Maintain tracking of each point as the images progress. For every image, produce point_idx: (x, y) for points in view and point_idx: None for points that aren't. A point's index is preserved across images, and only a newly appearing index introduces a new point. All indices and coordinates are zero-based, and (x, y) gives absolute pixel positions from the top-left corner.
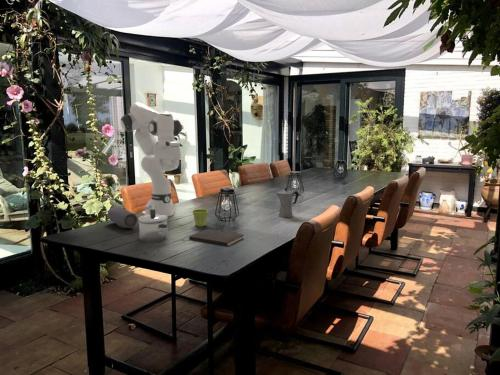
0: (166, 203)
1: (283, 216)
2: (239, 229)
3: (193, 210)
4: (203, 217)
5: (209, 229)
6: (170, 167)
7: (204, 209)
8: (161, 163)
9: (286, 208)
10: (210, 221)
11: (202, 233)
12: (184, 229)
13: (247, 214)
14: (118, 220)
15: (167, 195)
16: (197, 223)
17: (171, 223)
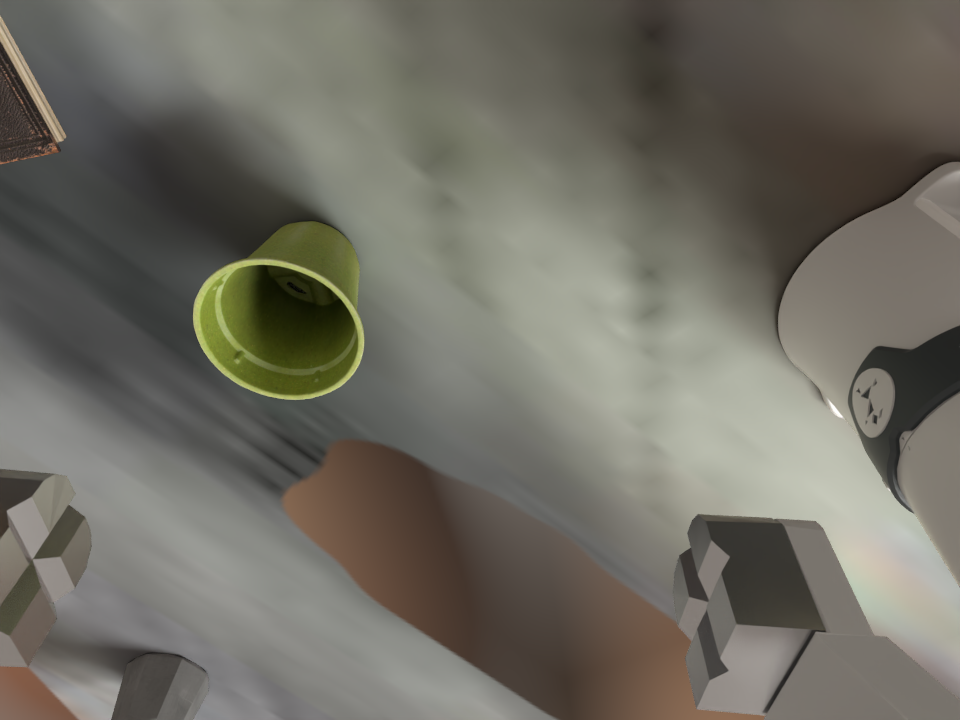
0: (859, 363)
1: (144, 657)
2: (17, 351)
3: (349, 310)
4: (229, 288)
5: (30, 155)
6: (2, 480)
7: (308, 393)
8: (797, 675)
9: (117, 711)
10: (365, 384)
11: None
12: (289, 69)
13: (344, 611)
14: None
15: (889, 434)
16: (287, 229)
17: (574, 143)
